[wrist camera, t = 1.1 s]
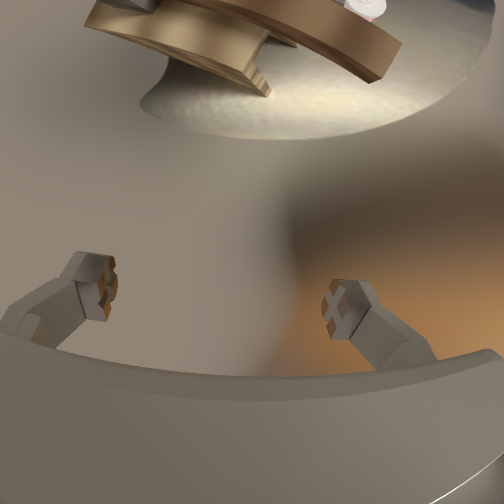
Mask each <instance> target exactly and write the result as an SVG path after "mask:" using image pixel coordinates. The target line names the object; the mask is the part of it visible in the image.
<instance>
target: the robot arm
mask: <svg viewBox="0 0 504 504" xmlns="http://www.w3.org/2000/svg"><path fill="white" fill-rule="evenodd" d="M115 266H116V265H115V258H114V257H113V256H109V255H103V254H96V253H90V252H89V253H88V252H82V251H77V252H75V253H74V255H73V256H72V258H71V259H70V261H69V262H68V264H67V265H66V267H65V269H64V270H63V272H62V273H61V275H60V277H59V278H54V279H52V280H51V281H49V282H47V283H45V284H44V285H42V286H41V287H39V288H37V289H36V290H34V291H32V292H31V293H29V294H27V295H26V296H24V297H23V298H21V299H19V300H18V301H16V302H15V303H13V304H11V305H10V306H9V307H8V309H7V310H6V312H5V314H4V316H3V317H2V319H1V321H0V504H504V358H502V357H501V356H500V355H499V354H498V353H496V352H495V351H493V350H492V349H483V350H479V351H476V352H472V353H468V354H464V355H460V356H456V357H452V358H448V359H443V360H437V358H436V357H435V355H434V353H433V351H432V349H431V347H430V345H429V343H428V341H427V339H425V338H424V337H423V336H421V335H420V334H419V333H418V332H416V331H415V330H414V329H413V328H411V327H410V326H409V325H408V324H406V323H405V322H404V321H402V320H401V319H400V318H398V317H397V316H396V315H395V314H393V313H392V312H390V311H389V310H388V309H386V308H383V306H382V305H381V303H380V301H379V299H378V298H377V296H376V294H375V292H374V290H373V288H372V287H371V285H370V283H369V282H368V281H366V280H345V279H333V280H332V281H331V283H330V285H329V289H330V292H328V293H327V294H326V295H325V296H324V298H323V300H322V305H321V311H322V315H323V318H324V319H325V320H326V321H327V322H328V324H327V326H326V327H327V330H328V333H329V336H330V339H331V340H349V341H350V342H351V343H352V344H353V346H354V347H355V348H356V349H357V350H358V351H359V352H360V353H361V354H362V355H363V356H364V358H365V359H366V360H367V361H368V362H369V363H370V364H371V365H372V366H373V367H374V369H375V370H376V371H367V372H358V373H347V374H335V375H319V376H291V377H255V376H254V377H253V376H227V375H226V376H225V375H211V374H210V375H209V374H198V373H187V372H177V371H168V370H160V369H152V368H145V367H139V366H132V365H126V364H121V363H115V362H110V361H105V360H100V359H95V358H90V357H86V356H81V355H77V354H73V353H68V352H65V351H61V350H57V349H56V347H57V346H58V345H59V344H60V343H62V342H63V341H64V340H65V339H66V338H67V337H68V336H69V335H70V334H71V333H72V332H73V331H74V330H76V329H77V328H78V327H79V326H80V325H81V324H82V323H83V322H84V321H85V320H86V319H89V320H96V321H103V322H107V319H108V316H109V313H110V311H111V305H110V303H111V302H112V301H113V300H115V297H116V294H117V288H118V279H117V275H116V274H115V272H114V271H113V270H114V268H115Z"/></svg>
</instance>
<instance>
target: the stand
mask: <svg viewBox="0 0 504 504" xmlns="http://www.w3.org/2000/svg"><path fill="white" fill-rule="evenodd" d="M84 27H88V28H91V29H95V30H98V31H101V32H105V33H108V34H111V35H114V36H117V37H120V38H123V39H126V40H129V41H132V42H134V43H137V44H140V45H142V46H145V47H148V48H150V49H153V50H155V51H158V52H160V53H162V54H165V55H167V56H169V57H172V58H174V59H176V60H179V61H182V62H185V63H188V64H190V65H193V66H196V67H199V68H201V69H204V70H206V71H209V72H211V73H214V74H216V75H219V76H221V77H224V78H226V79H228V80H231V81H233V82H235V83H238V84H240V85H242V86H244V87H246V88H249V89H251V90H253V91H255V92H257V93H259V94H261V95H263V96H265V97H268V95H269V94H270V92H271V89H270V87H269V85H268V84H267V82H266V80H265V79H264V77H263V76H262V74H261V72H260V71H259V69H258V68H257V66H256V65H255V63H254V62H253V60H254V58H255V57H256V55H257V53H258V52H259V50H260V48H261V47H262V45H263V43H264V42H265V40H266V39H267V37H268V35H269V36H271V37H274V38H276V39H278V40H280V41H283V42H285V43H287V44H289V45H291V46H293V47H295V48H297V47H298V45H299V44H298V43H296V42H294V41H292V40H290V39H288V38H286V37H283V36H281V35H279V34H277V33H274V32H272V31H270V30H267V29H265V28H262V27H260V26H257V25H254V24H252V23H249V22H246V21H244V20H241V19H238V18H235V17H232V16H229V15H226V14H223V13H220V12H216V11H213V10H209V9H206V8H202V7H198V6H194V5H190V4H186V3H182V2H177V1H172V0H162V1H161V2H160V4H159V5H158V7H157V9H156V10H155V12H154V14H151V13H145V12H140V11H134V10H128V9H121V8H114V7H111V6H109V5H107V4H105V3H102V2H100V1H96V3H95V5H94V7H93V9H92V10H91V12H90V14H89V16H88V18H87V20H86V22H85V24H84Z"/></svg>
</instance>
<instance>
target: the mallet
mask: <svg viewBox="0 0 504 504" xmlns="http://www.w3.org/2000/svg"><path fill="white" fill-rule="evenodd" d="M97 1H100V2H102V3H105V4H107V5H109V6H111V7H114V8H121V9H128V10H134V11H140V12H145V13H151V14H154V12H155V10H156V9H157V7H158V5H159V4H160V2H161V1H162V0H97ZM172 1H177V2H182V3H186V4H190V5H194V6H198V7H202V8H206V9H209V10H213V11H216V12H220V13H223V14H226V15H229V16H232V17H235V18H238V19H241V20H244V21H246V22H249V23H252V24H254V25H257V26H260V27H262V28H265V29H267V30H270V31H272V32H274V33H277V34H279V35H281V36H283V37H286V38H288V39H290V40H292V41H294V42H296V43H298V44H300V45H302V46H304V47H306V48H308V49H310V50H312V51H314V52H316V53H318V54H320V55H322V56H324V57H325V58H327V59H329V60H331V61H333V62H334V63H336V64H338V65H339V66H341V67H343V68H344V69H346V70H348V71H349V72H351V73H353V74H354V75H356V76H357V77H359V78H360V79H362V80H363V81H365V82H366V83H368V84H370V83H372V82H375V81H377V80H380V79H382V78H383V76H384V75H385V73H386V71H387V69H388V68H389V66H390V64H391V63H392V61H393V59H394V57H395V56H396V54H397V52H398V51H399V49H400V47H401V45H402V43H401V42H400V41H398V40H397V39H395V38H394V37H392V36H391V35H390V34H388V33H387V32H385V31H384V30H382V29H381V28H379V27H377V26H376V25H374V24H373V23H371V22H369V21H368V20H366V19H364V18H363V17H361V16H359V15H358V14H356V13H354V12H352V11H350V10H349V9H347V8H345V7H343V6H341V5H339V4H337V3H335V2H333V1H331V0H172Z"/></svg>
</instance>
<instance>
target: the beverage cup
mask: <svg viewBox="0 0 504 504" xmlns="http://www.w3.org/2000/svg"><path fill="white" fill-rule="evenodd" d="M344 7H345V8H347V9H349V10H350V11H352V12H354V13H356V14H358V15H359V16H361V17H363V18H364V19H366V20H368V21H369V22H371V21H372V20H373V19H374V18H375V17H378V16H380V15H381V14H383V13H384V11H385V9H386V1H385V0H346V1H345V4H344Z"/></svg>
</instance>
